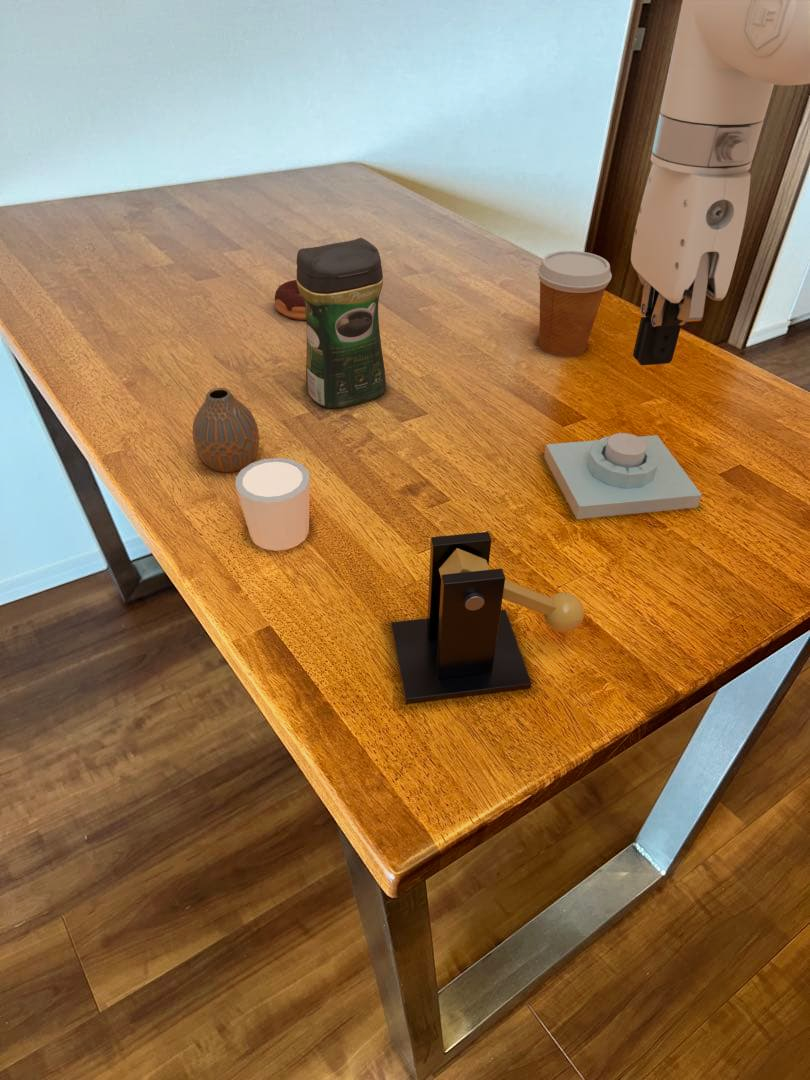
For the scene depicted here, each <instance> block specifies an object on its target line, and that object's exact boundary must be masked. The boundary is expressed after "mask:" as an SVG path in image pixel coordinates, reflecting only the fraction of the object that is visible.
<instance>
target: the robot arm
mask: <svg viewBox="0 0 810 1080" xmlns="http://www.w3.org/2000/svg"><path fill="white" fill-rule="evenodd" d="M673 41H674V42H673V46H672V51H671V56H670V61H669V66H668V70H667V71H668V72H667V76H666V81H665V86H664V91H663V95H662V102H661V106H660V111H659V116H658V121H657V125H656V130H655V135H654V140H653V145H652V149H651V155H650V162H651V163H652V164H651V168H650V171H649V173H648V174H649V175H648V177H647V181H646V185H645V189H644V191H643V195H642V200H641V202H640V208H639V211H638V215H637V219H636V224H635V228H634V233H633V239H632V245H631V252H630V262H631V263H630V264H631V266H632V267H633V269H634V270H635V272H636V273H637V277H638V279H639V282H640V283H641V285H642V289H643V290H642V294H641V295H642V296H641V302H640V314H641V315H642V316H641V317H640V321H639V326H638V329H637V334H636V339H635V343H634V348H633V353H632V356H633V358H634V359H635V360H636V361H637V363H638V364H639V365H640V366H652V365H653V366H654V365H664V364H665V365H666V364H670V363H671V362H672V361H673V358H674V354H675V351H676V346H677V343H678V339H679V335H680V333H681V328H682V326H684V325H685V324H686V323H689V322H690V323H691V322H701V321H702V320H703V317H704V311H705V305H706V297H708V298H709V299H711V300H712V301H715V302H718V301H719V302H720V301H722V300H723V299H724V298H725V297H726V296H727V293H728V291H729V288H730V285H731V281H732V277H733V275H734V274H733V273H734V270H735V266H736V262H737V259H738V253H739V250H740V246H741V240H742V236H743V232H744V227H745V224H746V223H745V222H746V216H747V211H748V204H749V196H750V188H751V177H752V176H751V175H752V174H751V173H750V172H749V170H750V169H751V167H752V163H753V159H754V156H755V153H756V151H757V146H758V142H759V139H760V135H761V132H762V128H763V125H764V121H765V119H766V114H767V112H768V108H769V104H770V100H771V96H772V94H773V90H774V86H775V85H776V86H801V85H810V0H682V2H681V6H680V12H679V16H678V22H677V27H676V32H675V36H674V40H673Z"/></svg>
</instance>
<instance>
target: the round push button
mask: <svg viewBox="0 0 810 1080" xmlns="http://www.w3.org/2000/svg"><path fill="white" fill-rule="evenodd" d="M608 437H609V438H608V440H607V444H606V449H605V453H604V456H605V458H606V460H607V461H609V462H610V463H612V464H614V465H616V466H621V467H626V468H630V467H638V466H640V465H641V464H642V463H643V460H644V457H645V453H646V450H647V444H646V442H645V441H644V440H643V439H642V438H640V436H638V435H636V434H633V433H628V432H618V433H613V434H612V435H610V436H608Z"/></svg>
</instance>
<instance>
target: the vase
mask: <svg viewBox="0 0 810 1080" xmlns="http://www.w3.org/2000/svg"><path fill="white" fill-rule="evenodd" d="M192 440H193V444H194V448H195V451H196V453H197V454H198V457H199V458H200V460H201V461H202V462H203V463H204V464H205V465H206V466H207V467H209V468H210V469H212V470H213V471H216V472H219V473H234V472H240V471H241V470H242V469H243V468H245V467H246V466H248V465H249V464H251V463H253V462H254V460H255V458H256V457H257V454H258V451H259V446H260V434H259V427H258V424H257V422H256V419H255V417H254V415H253V413H252V412H251V411H250V409H249V408H248V407H247V406H246V405H245V404H244V403H242V401H240V400H238V399H237V398H236V397H235V396H234V395H233V393H232V392H231V390H229V389H227V388H225V387H216V388H212V389H210V390H209V391H208V392H207V393H206V395H205V399H204V401H203V403H202V405H200V408H199V409H198V410H197V412H196V413H195V416H194V419H193V423H192Z"/></svg>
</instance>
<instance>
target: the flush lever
mask: <svg viewBox="0 0 810 1080" xmlns="http://www.w3.org/2000/svg"><path fill="white" fill-rule="evenodd" d="M482 570H491V569H490V565H489V566H488V563H487V561H486V559H483V558H481V557H478V556H476V555H473V554H471V553H468V552H466V551H463V550H461V549H458V548H457V549H456V550H455V551H454V552H453V553H452V554H451V556H450V557H449V558H448V559H447V560H446V561H445V562H444V564H443V565H442V566H441V567H440V568H439V573H440V576H442V575H444V574H454V573H463V572H473V571H482ZM502 600H504V601H507V602H510V603H512V604H516V605H517V606H521V607H522V608H523V607H524V608H527V609H529V610H532V611H534V612H536V613H539V614H542V615H543V617H544V618H543V619H544V621H545V624H546V625H547V626H548V627H550V629H552V630H553V631H555V632H557V633H563V634H565V633H566V634H567V633H571V632H573V631H575V630H576V629H578V628H579V627H580V626H581V625H582V623H583V621H584V619H585V618H584V617H585V607H584V605H583V603H582V601H581V600H580V598H578V596H576V595H575V594H573V593H569V592H564V591H563V592H557V593H555V594H552V595H551V596H547V595H544V594H542V593H539V592H538V591H534V590H532V589H529V588H527V587H524V586H521V585H519V584H516V583H515V582H511V581H509V580H506V579H505V584H504V591H503V598H502Z"/></svg>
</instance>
